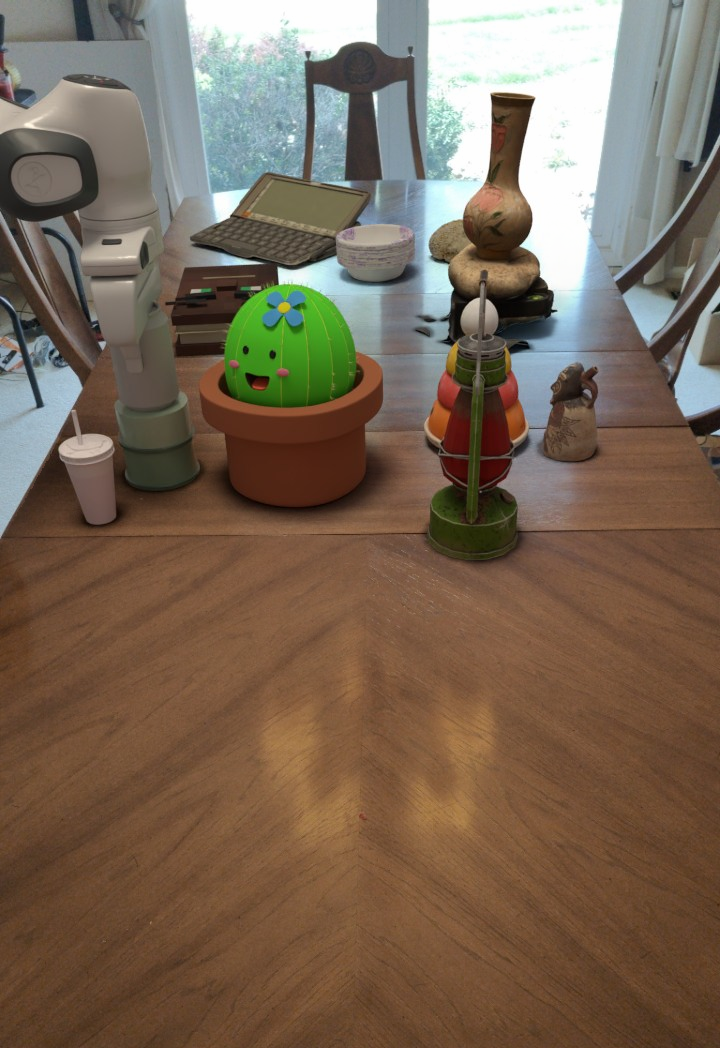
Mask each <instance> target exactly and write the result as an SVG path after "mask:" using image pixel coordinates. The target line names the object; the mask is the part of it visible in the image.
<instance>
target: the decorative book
mask: <svg viewBox="0 0 720 1048" xmlns="http://www.w3.org/2000/svg"><path fill="white" fill-rule="evenodd" d="M181 275H182V276H181V278H180V282H179V286H178V289H177V291H176V296H175V297H174V300H173V301H165V302H164V305H165V306H173V308H172V309H171V314H170V320H171V326H172V327H175V330H174V334H175V335H177V339H176V341H175V353H176V357H187V356H206V355H207V356H208V355H209V356H210V355H224V353H225V343H226V342H224V341H223V340H225V341H226V338H227V334H228V333H227V331H229V328H230V326H229V325H231V323H232V321H233V319H234V317H235V316H236V314H237V312H238V311H239V310H240V308H241V307H242V306H243V305H244V304H245V303H246V302H247V301H248V300H249V299H250V298H251V297H253V296H254V295H256V294H257V293H259V292H261V291H263V290H265V289H267V285H268V287H269V285H270V287H272V286H273V284H274V286H276V285H280V280H279V278H280V277H279V267H278V262H274V263H273V262H272V263H251V264H230V265H228V264H227V265H209V266H205V265H204V266H185V267H184V268H183V272H182V274H181ZM272 281H273V282H272ZM268 283H269V284H268ZM264 286H265V288H264ZM250 291H251V292H250ZM254 293H255V294H254ZM249 294H251V295H252V294H253V295H252V296H251V297H250V295H249ZM228 324H229V325H228ZM227 325H228V326H227ZM227 327H228V328H227ZM227 329H228V330H227ZM224 331H226V332H224ZM222 332H223V333H222ZM221 347H222V348H223V347H224V348H223V349H222V348H221Z"/></svg>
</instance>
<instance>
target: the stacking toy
mask: <svg viewBox="0 0 720 1048" xmlns="http://www.w3.org/2000/svg"><path fill="white" fill-rule="evenodd" d="M479 306H480V298H476V299H474V300H472V301H471V302H470V303H469V304H468V305H467V306H466V307H465V309H464V310H463V313H462V316H461V328H462V330H463V332H464V333H465V334H466V336H468V335H472V334H476V333H478V326H479ZM498 327H499V324H498V314H497V311H496V308H495V307H494V305H493V304H492V303H491V302H490V301H489V300H487V299H486V309H485V330H484V332H485V333H488V334H491V335H494V334H495V333H496V332H497V329H498ZM457 342H458V341H457ZM457 342H454V344H453V345H452V346H451V348H450V350H449V351H448V353H447V357H446V361H445V369H444V371H443V373H442V375H441V376H440V379H439V382H438V384H437V389H436V399H435V401H434V402H433V404H432V407H431V409H430V414H429V415H428V417H427V418H426V419H425V421H424V424H423V430H424V434H425V436H426V438H427V439H428V441H429V442H430V443H431V444H432V445H433V446H435V447H436V448H438V449H440V446H439V443H440V442H441V441H442V439H443V438H444V436H445V432H446V428H447V423H448V420H449V417H450V414H451V411H452V408H453V405H454V402H455V399H456V397H457V395H458V392H459V390H460V388H461V387H459V386H458V385H456V384H455V383H453V380H452V375H453V374H454V372H455V361H456V359H457V350H458V347H457ZM504 350H505V352H506V356H505V361H506V371H505V373H506V374H507V376H508V381H507V383H506V384H505V385H503V386H501V387H499V388H498V389H499V392H500V395H501V398H502V401H503V405H504V409H505V414H506V418H507V422H508V429H509V436H510V439H511V440H512V442H513V444H514V446H515V448H517V447H519V446H520V445H521V444H522V443H523V442H525V440H526V439H527V436H528V435H529V432H530V424H529V422H528V420H527V418H526V417H525V411H524V408H523V405H522V402H521V401H520V399H519V384H518V380H517V377H516V376H515V373H514V372H513V370H512V358H511V353H510V351H509V349H507V347H505V349H504ZM442 446H443V445H442ZM515 448H514V449H515Z"/></svg>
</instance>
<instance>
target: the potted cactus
mask: <svg viewBox="0 0 720 1048" xmlns="http://www.w3.org/2000/svg"><path fill="white" fill-rule="evenodd" d="M272 282H273V281H272ZM268 284H269V283H268ZM308 286H309V282H306V285H303V284H294V281H293V279H291V280H287V283H286V282H285V281H283V283H281V284H279V285H276V286H274V284H273V286H272V287H270V285H269V287H268V285H267V289H265V290H263V291H261V292H259V293H257V294H256V295H254V296H253V297H251V296H252V295H253V294H252V295H251V294H249V295H250V297H251V298H250V299H249V300H248V301H247V302H246V303H245V304H244V305H243V306H242V307H241V308H240V310H239V311H238V312H237V314H236V316H235V317H234V319H233V321H232V323H231V325H229V324H228V325H229V326H230V328H229V331H227V333H228V334H227V338H226V341H225V340H223V341H224V342H226V343H225V353H224V354H223V355H224V358H222V357H220V359H219V361H218V362H216V363H215V364H213V365H212V366H211V367H209V368H208V369H207V370H206V371H205V373H203V375H202V376H201V378H200V380H199V384H198V393H199V400H200V407H201V414H202V417H203V419H204V421H205V422H206V423H207V424H208V425H209V426H210V427H212V428H213V429H215V430H216V431H218V432H221V433H222V434H224V442H225V450H226V451H225V452H226V457H227V458H226V459H227V466H228V475H229V480H230V483H231V485H232V487H233V488H234V490H235V491H237V492H238V493H239V494H241V495H242V496H244V497H246V498H247V499H250V500H252V501H255V502H258V503H261V504H265V505H270V506H277V507H284V508H306V507H314V506H315V507H316V506H319V505H324V504H328V503H330V502H333V501H336V500H338V499H341V498H342V497H344V496H346V495H348V494H349V493H350V492H352V491H353V490H354V489H356V487H358V486H359V484H360V483H361V482H362V481H363V479H364V478H365V477H364V476H365V474H366V471H367V469H366V468H367V450H366V447H367V446H366V424H368V423H369V422H370V421H372V420H373V419H374V418H375V417H376V416H377V414H379V412H380V410H381V408H382V406H383V404H384V403H383V402H384V374H383V373H384V372H383V369H382V366H381V365H380V364H379V362H377V361H376V360H375V359H373V358H372V357H371V356H369V355H366V354H364V353H363V352H359V349H357V348H356V346H355V340H356V339H357V338H353V334H352V333H354V331H353V330H352V327H353V326H354V324H352V325H350V326H349V325H348V323H347V321H346V320H345V318H344V315H343V314H342V312H341V311H340V309H338V307H337V305H336V304H335V303H334V302H335V300H337V299H336V297H334V298H330V299H329V298H328V297H327V296H328V293H326V294H323V293H321V292H322V290H323V289H320V290H319V291H318V290H315V288H313V287H308ZM264 288H265V286H264ZM250 292H251V291H250ZM254 294H255V293H254ZM228 325H227V326H228ZM227 328H228V327H227ZM227 330H228V329H227ZM224 332H226V331H224ZM222 333H223V332H222ZM221 348H222V347H221ZM223 348H224V347H223ZM223 348H222V349H223Z"/></svg>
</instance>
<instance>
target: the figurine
mask: <svg viewBox="0 0 720 1048" xmlns="http://www.w3.org/2000/svg"><path fill="white" fill-rule="evenodd" d="M598 373H599V368H598V367H597V366H596V365H593V366H591V367H590V368H588V369H587V370H586V371H585V367H584V364H582V363H581V362H578V361H576V362H573V363H570V364H569V365H568V366H566V367H565V368H563V369H562V370H561V371H560V372H559V374H558V375H557V379H556V380H555V381H554V382H553V383H552V384H551V386H550V390H551V391H552V396H551V399H550V401H549V404H550V405H551V406H552V408H551V409H550V412H549V415H548V420H547V424H546V427H545V430H544V432H543V437H542V444H541V449H542V452H543V453H542V454H543V455H544V456H545V457H547V458H549V459H552V460H555V461H559V462H578V461H579V462H580V461H584V460H587V459H590V458H591V457H592V456H593V455H594V453H595V451H596V448H597V443H598V424H597V417H596V416H597V415H596V414H597V413H596V408H595V403H596V400H597V399H598V394H599V386H598V384H597V382H596V381H595V379H594V377H595V376H596V375H597V374H598ZM585 390H588V391H589V392H590V395H591V396H590V395H589V394H588V393H586V392H585Z"/></svg>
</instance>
